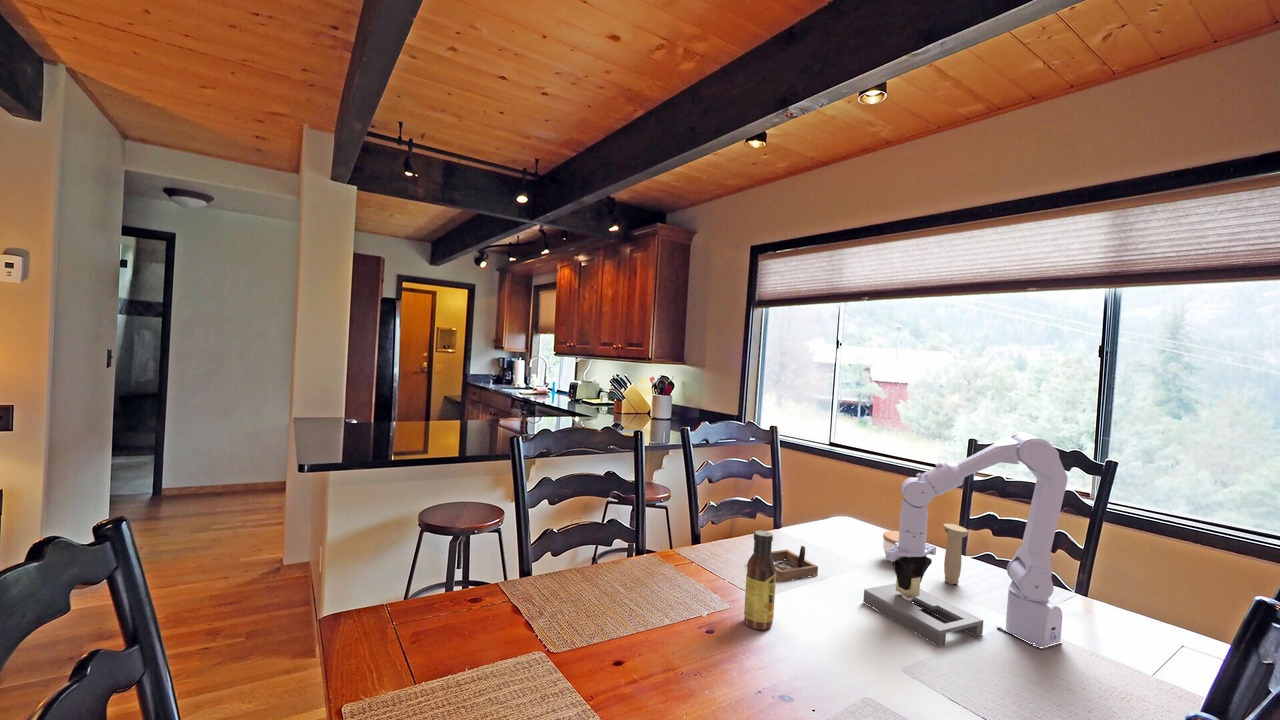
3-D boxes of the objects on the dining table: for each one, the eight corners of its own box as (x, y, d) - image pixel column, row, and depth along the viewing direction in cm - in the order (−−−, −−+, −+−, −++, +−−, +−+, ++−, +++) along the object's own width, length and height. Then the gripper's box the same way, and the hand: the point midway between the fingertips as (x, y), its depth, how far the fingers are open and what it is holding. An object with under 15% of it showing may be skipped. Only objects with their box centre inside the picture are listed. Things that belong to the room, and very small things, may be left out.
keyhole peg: (922, 613, 129) (925, 577, 128) (907, 616, 126) (910, 580, 126) (904, 603, 133) (907, 568, 133) (889, 606, 131) (892, 571, 131)
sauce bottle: (773, 633, 116) (779, 540, 115) (743, 629, 117) (749, 536, 116) (772, 618, 122) (778, 530, 122) (743, 614, 123) (749, 527, 123)
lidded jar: (924, 562, 161) (926, 531, 161) (920, 574, 152) (922, 541, 151) (884, 553, 167) (886, 522, 166) (878, 564, 157) (881, 532, 157)
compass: (773, 564, 153) (775, 538, 153) (803, 568, 151) (805, 542, 151) (773, 575, 146) (774, 548, 146) (804, 580, 144) (806, 553, 143)
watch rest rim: (817, 575, 147) (818, 566, 147) (780, 581, 142) (780, 572, 142) (786, 558, 158) (787, 549, 158) (751, 563, 153) (751, 554, 153)
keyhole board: (982, 634, 120) (983, 620, 120) (938, 646, 114) (939, 630, 114) (904, 594, 138) (905, 581, 138) (863, 602, 133) (864, 589, 132)
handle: (951, 577, 151) (955, 523, 150) (968, 588, 144) (972, 531, 144) (935, 577, 150) (939, 523, 150) (951, 588, 144) (955, 531, 143)
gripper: (919, 521, 136) (915, 576, 136) (876, 527, 130) (872, 583, 130) (945, 531, 129) (941, 588, 130) (901, 537, 123) (897, 597, 124)
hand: (908, 587), depth 129 cm, fingers open, 3 cm apart
